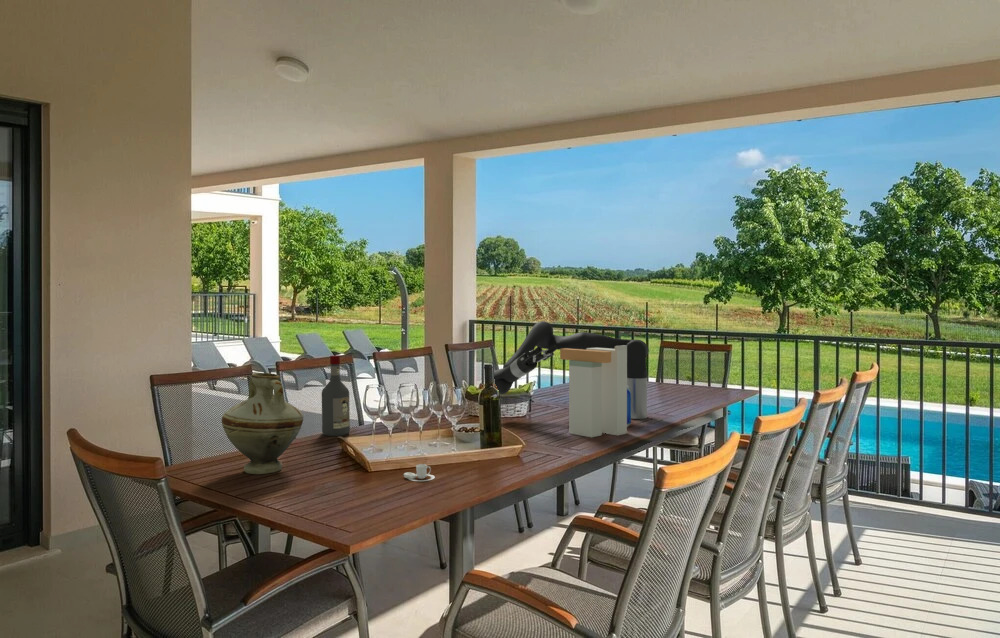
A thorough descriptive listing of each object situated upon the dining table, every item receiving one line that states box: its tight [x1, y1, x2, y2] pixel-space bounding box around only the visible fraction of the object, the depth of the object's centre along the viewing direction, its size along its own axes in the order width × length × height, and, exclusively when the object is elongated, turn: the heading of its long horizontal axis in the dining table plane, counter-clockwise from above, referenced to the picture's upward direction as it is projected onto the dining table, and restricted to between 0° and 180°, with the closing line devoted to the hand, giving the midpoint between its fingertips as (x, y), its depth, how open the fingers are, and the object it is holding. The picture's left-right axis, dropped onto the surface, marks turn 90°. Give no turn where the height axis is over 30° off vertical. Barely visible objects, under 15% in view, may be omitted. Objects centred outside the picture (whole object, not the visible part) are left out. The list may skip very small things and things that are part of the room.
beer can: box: [627, 386, 632, 428], centre depth 291 cm, size 8×8×16 cm
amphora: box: [221, 372, 304, 475], centre depth 221 cm, size 24×24×30 cm
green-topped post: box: [568, 360, 603, 438], centre depth 274 cm, size 11×6×28 cm, turn 44°
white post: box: [586, 345, 628, 436], centre depth 278 cm, size 15×6×34 cm, turn 44°
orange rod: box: [559, 348, 611, 363], centre depth 273 cm, size 22×4×4 cm, turn 44°
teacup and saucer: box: [403, 463, 436, 482], centre depth 212 cm, size 9×8×4 cm
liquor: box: [321, 355, 351, 437], centre depth 277 cm, size 9×9×30 cm
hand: (548, 347), depth 287 cm, fingers open, 8 cm apart
